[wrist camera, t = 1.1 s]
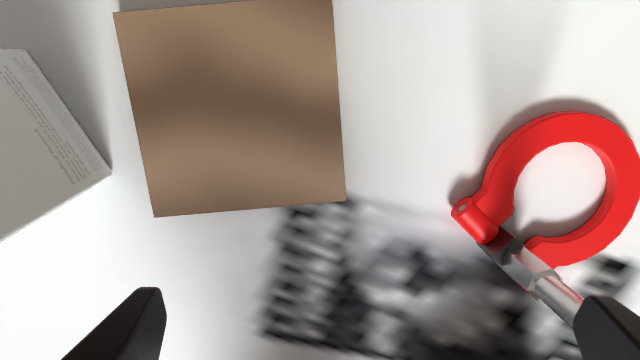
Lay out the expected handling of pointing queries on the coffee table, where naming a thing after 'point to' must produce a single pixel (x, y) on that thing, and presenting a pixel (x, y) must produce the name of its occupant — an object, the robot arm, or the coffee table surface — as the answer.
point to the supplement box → (38, 147)
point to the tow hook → (549, 252)
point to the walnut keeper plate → (235, 104)
